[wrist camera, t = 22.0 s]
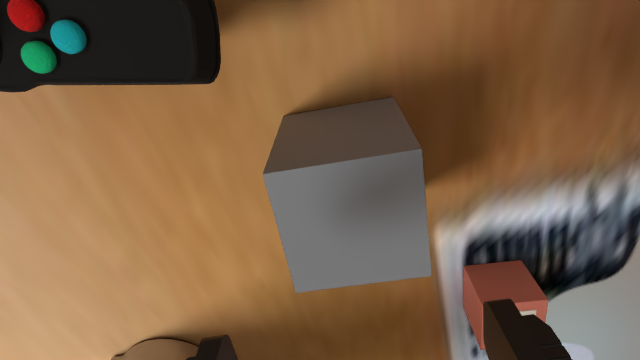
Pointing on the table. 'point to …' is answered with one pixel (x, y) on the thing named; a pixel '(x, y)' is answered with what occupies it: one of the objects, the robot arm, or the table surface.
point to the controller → (107, 43)
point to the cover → (349, 196)
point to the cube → (500, 291)
